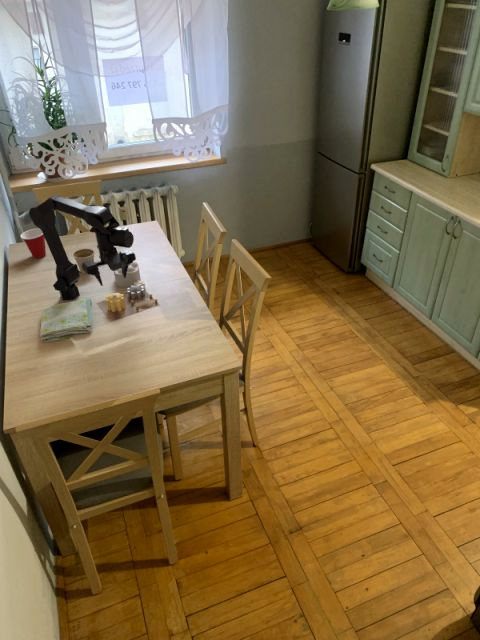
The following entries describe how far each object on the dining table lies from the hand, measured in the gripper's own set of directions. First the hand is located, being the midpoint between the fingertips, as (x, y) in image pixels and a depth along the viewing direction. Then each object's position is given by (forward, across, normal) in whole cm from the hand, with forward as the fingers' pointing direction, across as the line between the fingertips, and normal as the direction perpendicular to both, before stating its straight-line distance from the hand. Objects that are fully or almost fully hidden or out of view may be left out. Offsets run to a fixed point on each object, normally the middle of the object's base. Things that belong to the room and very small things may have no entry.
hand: (113, 281), depth 175 cm
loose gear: (+11, -1, -1) cm, 11 cm away
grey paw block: (+12, +13, +18) cm, 25 cm away
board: (+12, +4, -1) cm, 13 cm away
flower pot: (+12, +2, +38) cm, 40 cm away
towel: (+13, -19, +2) cm, 23 cm away
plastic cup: (+12, -10, +67) cm, 69 cm away
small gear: (+12, +13, +8) cm, 19 cm away
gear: (+11, +9, +3) cm, 15 cm away
